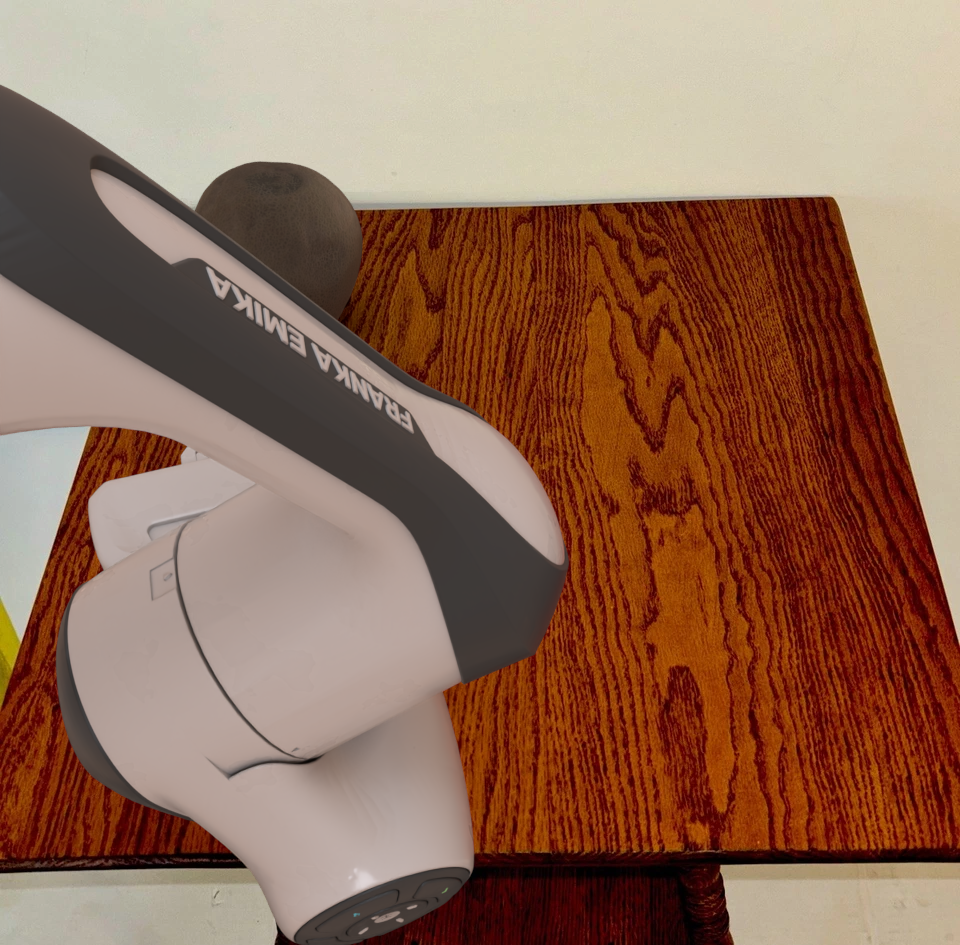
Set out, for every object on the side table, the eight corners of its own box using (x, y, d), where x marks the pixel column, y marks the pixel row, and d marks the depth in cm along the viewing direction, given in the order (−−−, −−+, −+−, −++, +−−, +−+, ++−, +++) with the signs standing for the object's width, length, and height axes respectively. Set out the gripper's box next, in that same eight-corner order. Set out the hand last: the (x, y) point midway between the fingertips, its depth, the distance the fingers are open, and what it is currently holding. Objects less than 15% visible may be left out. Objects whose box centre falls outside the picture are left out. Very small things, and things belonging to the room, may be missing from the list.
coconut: (350, 391, 84) (320, 234, 73) (187, 378, 86) (134, 224, 75) (390, 286, 94) (368, 133, 83) (242, 277, 96) (202, 127, 85)
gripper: (523, 497, 49) (448, 322, 58) (78, 606, 45) (75, 403, 55) (525, 579, 53) (456, 405, 62) (122, 684, 50) (112, 484, 59)
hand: (275, 405), depth 59 cm, fingers closed on vegetable, 6 cm apart
